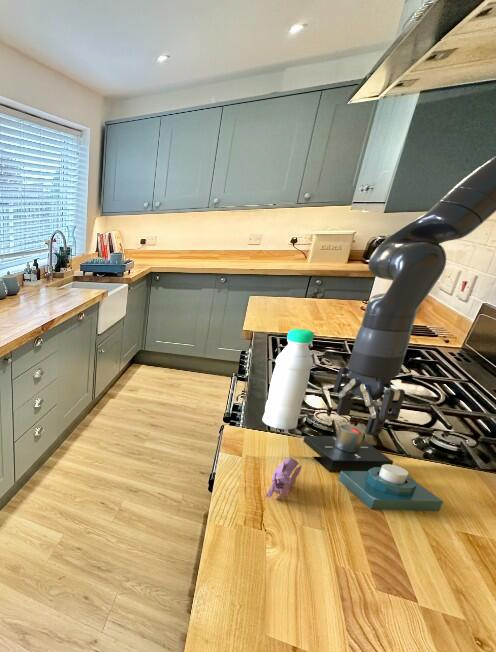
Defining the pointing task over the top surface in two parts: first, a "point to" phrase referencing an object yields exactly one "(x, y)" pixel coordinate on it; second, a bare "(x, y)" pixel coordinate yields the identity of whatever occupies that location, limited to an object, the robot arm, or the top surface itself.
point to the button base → (389, 492)
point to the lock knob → (349, 438)
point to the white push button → (393, 474)
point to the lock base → (345, 455)
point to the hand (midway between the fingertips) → (356, 424)
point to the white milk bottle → (289, 381)
